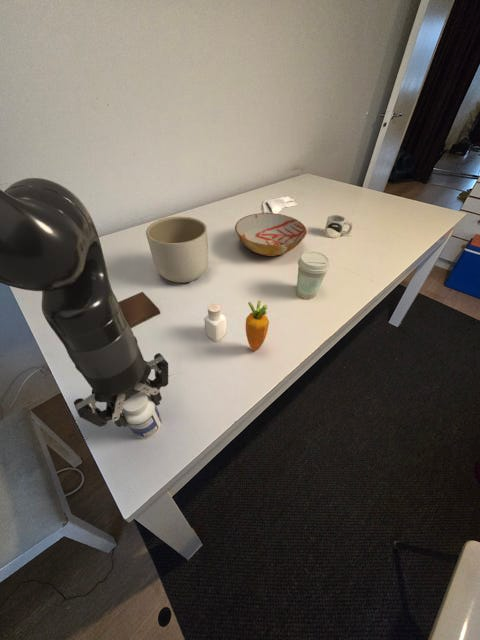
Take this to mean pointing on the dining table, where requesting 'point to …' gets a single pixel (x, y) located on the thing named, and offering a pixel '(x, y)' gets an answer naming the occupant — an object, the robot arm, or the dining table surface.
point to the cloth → (277, 204)
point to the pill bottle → (142, 415)
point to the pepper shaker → (215, 322)
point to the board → (138, 309)
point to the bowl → (270, 233)
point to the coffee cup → (311, 273)
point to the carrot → (256, 326)
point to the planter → (179, 248)
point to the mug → (336, 226)
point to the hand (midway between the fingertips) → (140, 411)
